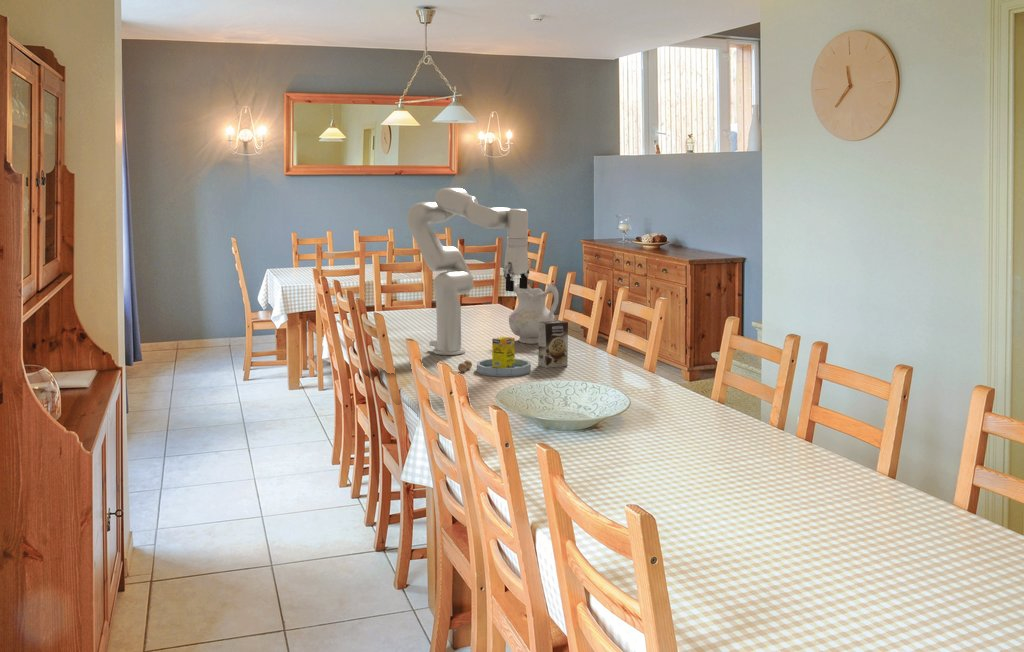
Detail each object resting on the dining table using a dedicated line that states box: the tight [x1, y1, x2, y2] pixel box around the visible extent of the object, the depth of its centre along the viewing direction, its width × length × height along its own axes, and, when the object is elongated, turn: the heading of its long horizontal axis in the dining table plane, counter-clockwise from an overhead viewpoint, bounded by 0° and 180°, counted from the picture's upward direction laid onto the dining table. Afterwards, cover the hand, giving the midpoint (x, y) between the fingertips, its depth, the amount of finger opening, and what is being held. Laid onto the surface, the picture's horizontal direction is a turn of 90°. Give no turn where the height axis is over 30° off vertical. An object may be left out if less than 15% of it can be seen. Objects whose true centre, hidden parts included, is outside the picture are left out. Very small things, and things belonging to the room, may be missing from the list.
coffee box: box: [537, 319, 569, 369], centre depth 328 cm, size 9×6×16 cm
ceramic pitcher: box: [508, 283, 560, 345], centre depth 377 cm, size 22×20×25 cm
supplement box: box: [491, 336, 516, 368], centre depth 319 cm, size 6×6×11 cm
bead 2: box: [463, 359, 473, 370], centre depth 323 cm, size 3×3×3 cm
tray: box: [476, 358, 532, 378], centre depth 319 cm, size 19×19×3 cm
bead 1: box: [457, 362, 468, 373], centre depth 318 cm, size 3×3×3 cm
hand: (516, 289), depth 333 cm, fingers open, 9 cm apart
